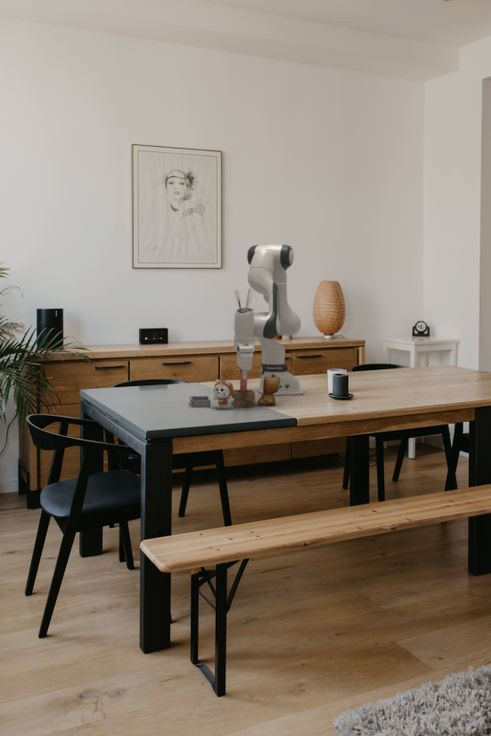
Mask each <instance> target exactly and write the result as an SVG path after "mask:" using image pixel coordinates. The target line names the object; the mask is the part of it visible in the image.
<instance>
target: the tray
mask: <svg viewBox="0 0 491 736" xmlns="http://www.w3.org/2000/svg"><path fill="white" fill-rule="evenodd" d="M189 404H190V406H191V407H190V408H211V399H210V396H209V395H206V396H205V395H201V396H200V395H190V396H189Z"/></svg>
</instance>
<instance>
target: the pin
mask: <svg viewBox="0 0 491 736" xmlns="http://www.w3.org/2000/svg"><path fill="white" fill-rule="evenodd" d="M239 374H240V375H239V390H240V392H247V390H248V378H247V379H243V378H242V369H240V368H239Z"/></svg>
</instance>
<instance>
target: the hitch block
mask: <svg viewBox="0 0 491 736" xmlns="http://www.w3.org/2000/svg"><path fill="white" fill-rule="evenodd" d="M230 398H233V399H234V401H233V402H231V401H230V402H231V403H230V404H231V405H232V407H233V408H255V405H256V393H255V391H254V390H252V389H247V392H240V389H233V394H232V395H231V396H230Z"/></svg>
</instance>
